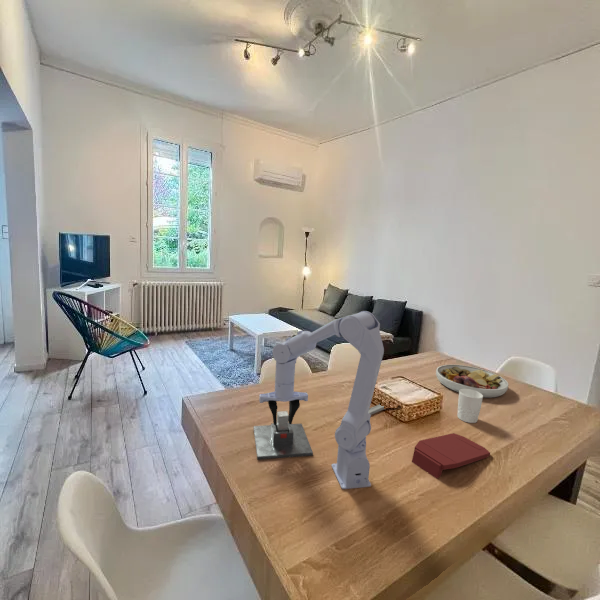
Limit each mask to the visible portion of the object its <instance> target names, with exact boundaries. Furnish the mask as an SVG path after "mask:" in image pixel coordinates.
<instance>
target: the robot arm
mask: <svg viewBox="0 0 600 600" xmlns="http://www.w3.org/2000/svg"><path fill="white" fill-rule="evenodd" d="M380 327H381V323H380V321H378V319H377V318H376V317H375V315H374V314H373V313H372V312H370V311H367V310H362V311H359V312H357V313H354V314H350V315H345V316H343V317H340V318H336V319H333V320H332V321H330V322H328V323H326V324H325V325H323V326H320V327H318V328H317V329H315V330H314V331H310V330H303V329H302V330H299V331H297V332H296V335H294V336H293V337H287V338H286V339H285V341H283V342H278V343H277V344H275V346H274V345H273V346H274V347H273V348H272V357H273V359H274V361H275V374H274V375H275V376H274V377H275V379H274V391H271V392H267V393H259V396H258V397H259V398H258V400H259V404H262V403H264V402H265V403H266V402H267V404H268V407H269V409H270V412H271V415H272V420H273V421H272V423H274V425H276V424H277V412H278V404H277V403H278V402H284V403H287V402H288V404H289V405H288V407H289V409H288V416H289V418H288V423H289V424H293V420H294V418H295V415H296V413H297V411H298V410H299V408H300V406H301V403H300V401H303V402H308V401H309V395H308V394H309V393H307V392H304V391H303V392H302V391H301V392H300V391H294V390H295V375H296V374H295V373H296V364H297V359H298V358H299V357H300V356H302V355H305V354H307V353H309V352H312V351H314V350H315V349H316V347H317V343H319V342H323V340H326V339H328V338H330V337H333V336H336V337H338V338H341V337H342V338H343V339H344V340H345V341H347V342H348V344H350V345H351V346H352V347H354V348H355V349H356V350H357V351H358V353H359V355H360V357H359V362H358V365H357V369H356V372H355V373H356V374H355V378H354V382H353V387H352V390H351V394H350V395H351V396H350V399H349V403H348V407H347V411H346V412H345V414H344V416H343V417H342V418H341V421H340V425H339V426H338V427H337V428H336V429H335V432H334V439H335V442H336V444H337V446H338V447H337V458H336V463H332V464H331V468H332V471H333V472H334V475H335V477H336V479H337V482H338V483H339V486H340V488H341V490H348V489H349V490H350V489H357V488H358V489H359V488H370V487H371V486H372V483H371V482H370V481H371V480H369V477H370V468H371V465H370V462H369V459H368V457H367V451H366V450H367V436H368V435H370V433H371V430H372V425H371V417H372V415H370V413H369V408H371V404H372V399H373V396H374V392H375V387H376V384H377V381H378V376H379V372H380V369H381V364H382V361H383V357H384V354H385V353H384V352H385V348H384V344H383V338H382V336H381V331H380V329H381V328H380Z"/></svg>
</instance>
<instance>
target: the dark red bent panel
mask: <svg viewBox="0 0 600 600" xmlns="http://www.w3.org/2000/svg"><path fill="white" fill-rule="evenodd" d="M490 455H491V452H490V451H489V450H488V449H487V448H486V447H484V446H482V445H481V444H478V443H477V442H475V441H473V440H471V439H469V438H467V437H465V436H464V435H460V434H457V433H455V432H452V433H449V434H445V435H444V434H443V435H440V436H439V435H438V436H434V437H431V438H426V439H422V440H421V439H420V440H419V441H417V443H416V445H414V451H413V453H412V458H411V459H412V460H411V463H413V464H414V465H415V466H417V467H419V468H420V469H422V470H423V471H424V472H425V473H427V472H428V473H427V474H429V475H430V476H432V477H433V478H435V479H436V480H437V479H438V478H440V477H442V475H443V470H445V471H446V470H451V469H457V468H460V467H463V466H466V465H469V464H472V463H475V462H478V461H481V460H484V459H487V458H489V457H490Z"/></svg>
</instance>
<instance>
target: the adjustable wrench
mask: <svg viewBox="0 0 600 600" xmlns="http://www.w3.org/2000/svg"><path fill="white" fill-rule="evenodd" d="M383 410H385V409H384V406H381V405H380V403H379V404H377V405H374V406H373V407H370V408H369V413H370V415H371V416H372V415H374V414H376V413H379V412H381V411H383Z"/></svg>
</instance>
